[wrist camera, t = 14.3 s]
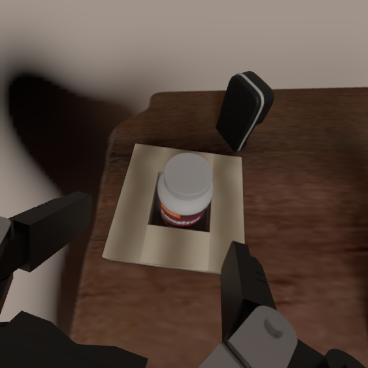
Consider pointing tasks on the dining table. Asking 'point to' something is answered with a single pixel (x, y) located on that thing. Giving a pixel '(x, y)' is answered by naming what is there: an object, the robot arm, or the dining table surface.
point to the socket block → (173, 237)
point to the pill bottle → (184, 190)
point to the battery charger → (243, 108)
